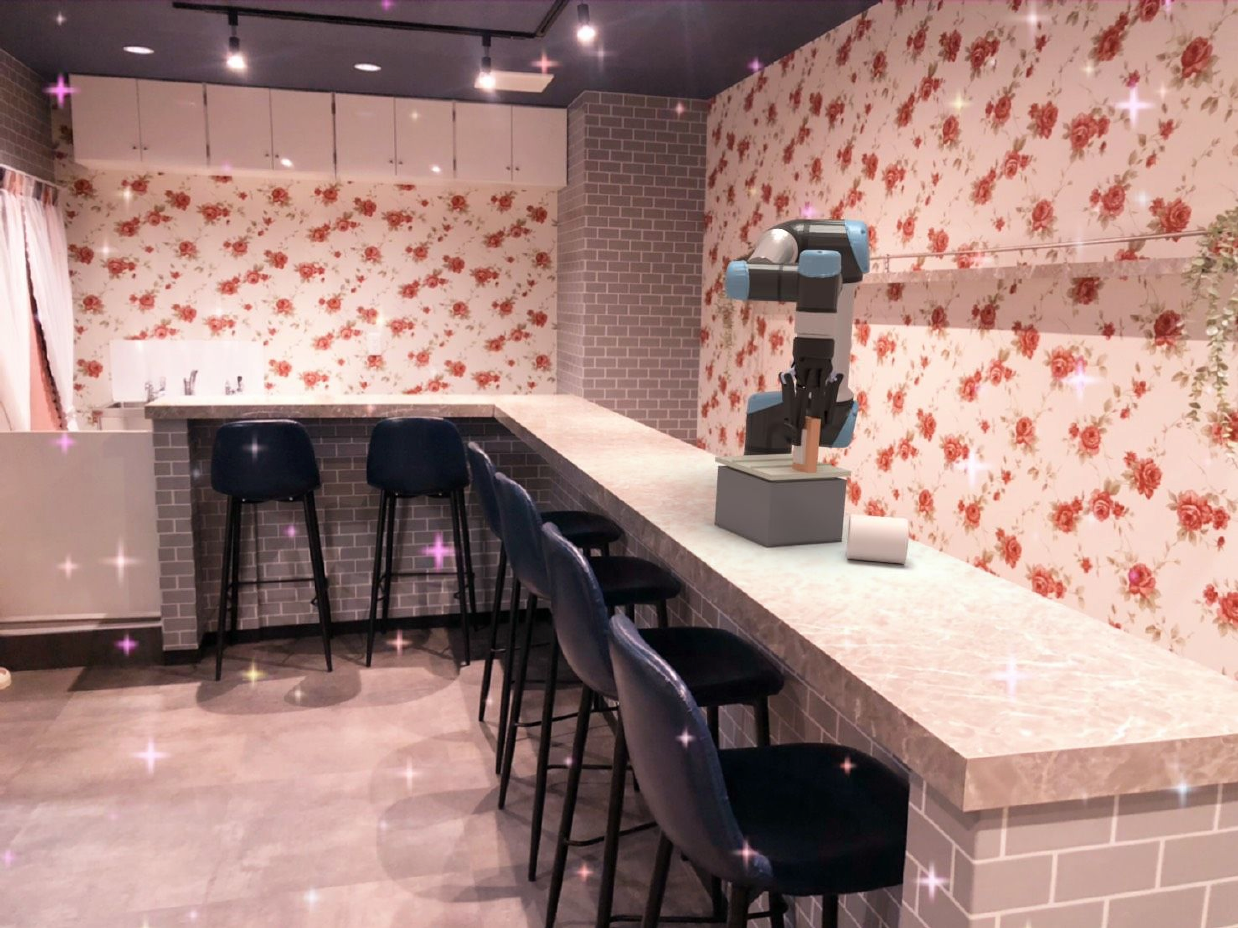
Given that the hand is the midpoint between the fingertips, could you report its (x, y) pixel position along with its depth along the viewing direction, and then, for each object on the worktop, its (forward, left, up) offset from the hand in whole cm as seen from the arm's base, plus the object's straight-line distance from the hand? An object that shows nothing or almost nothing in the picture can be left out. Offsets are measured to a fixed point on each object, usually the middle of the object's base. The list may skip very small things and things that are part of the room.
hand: (804, 462), depth 185 cm
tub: (0, -7, -15) cm, 17 cm away
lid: (0, -8, -4) cm, 8 cm away
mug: (-7, +14, -16) cm, 22 cm away
